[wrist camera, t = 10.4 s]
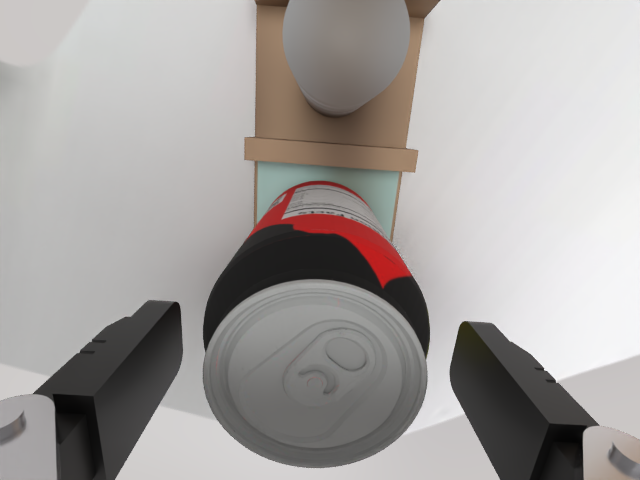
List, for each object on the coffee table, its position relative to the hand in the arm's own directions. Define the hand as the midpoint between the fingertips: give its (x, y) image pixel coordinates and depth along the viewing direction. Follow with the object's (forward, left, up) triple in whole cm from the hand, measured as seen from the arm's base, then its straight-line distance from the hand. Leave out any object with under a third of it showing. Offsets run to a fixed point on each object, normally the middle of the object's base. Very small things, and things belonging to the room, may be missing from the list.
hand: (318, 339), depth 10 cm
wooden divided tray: (0, +4, -12) cm, 12 cm away
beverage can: (0, 0, -10) cm, 10 cm away
